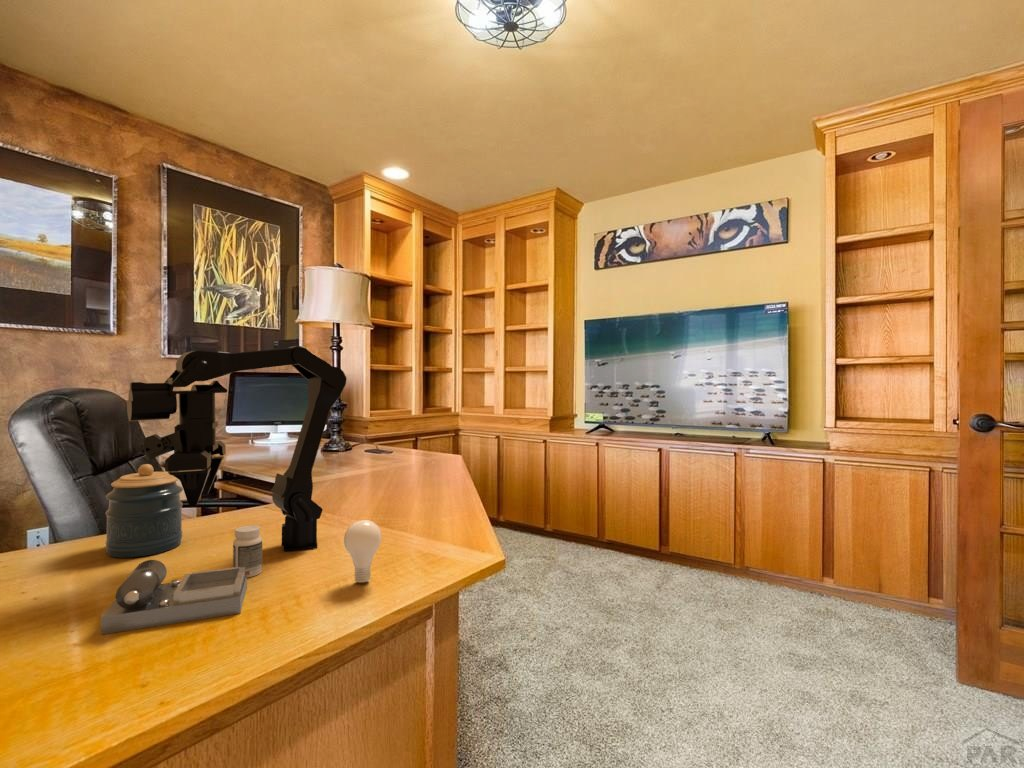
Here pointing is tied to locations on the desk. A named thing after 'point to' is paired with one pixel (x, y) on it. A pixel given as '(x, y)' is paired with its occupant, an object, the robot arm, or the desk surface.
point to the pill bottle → (248, 549)
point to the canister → (143, 514)
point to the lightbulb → (362, 547)
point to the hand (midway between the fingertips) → (199, 500)
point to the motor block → (173, 597)
